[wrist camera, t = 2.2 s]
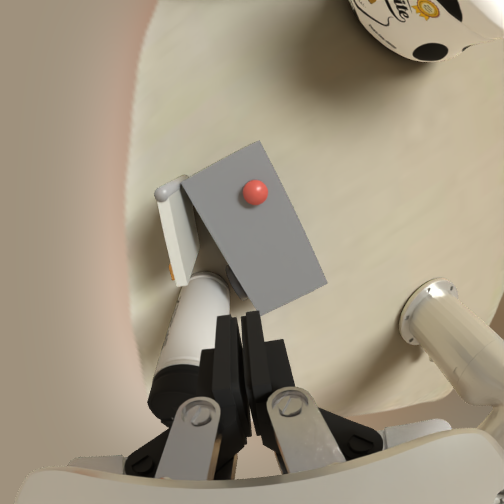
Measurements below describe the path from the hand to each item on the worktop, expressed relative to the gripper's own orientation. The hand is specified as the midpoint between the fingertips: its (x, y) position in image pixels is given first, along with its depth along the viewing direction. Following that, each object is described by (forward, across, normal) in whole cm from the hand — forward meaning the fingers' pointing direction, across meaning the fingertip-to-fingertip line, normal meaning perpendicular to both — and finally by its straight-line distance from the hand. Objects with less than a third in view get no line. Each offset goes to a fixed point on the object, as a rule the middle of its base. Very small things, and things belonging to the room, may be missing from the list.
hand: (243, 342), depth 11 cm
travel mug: (+23, +5, +10) cm, 26 cm away
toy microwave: (+23, -2, +1) cm, 23 cm away
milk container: (+23, -25, -26) cm, 43 cm away
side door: (+23, +6, -1) cm, 23 cm away
